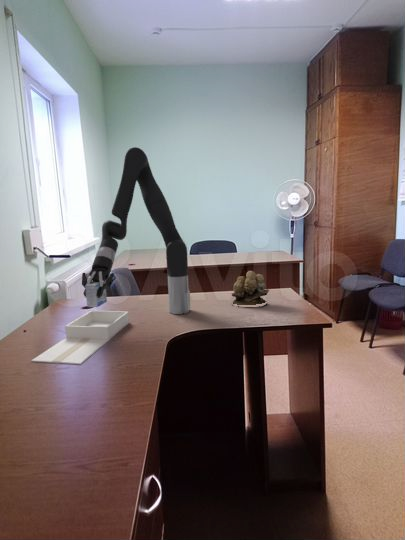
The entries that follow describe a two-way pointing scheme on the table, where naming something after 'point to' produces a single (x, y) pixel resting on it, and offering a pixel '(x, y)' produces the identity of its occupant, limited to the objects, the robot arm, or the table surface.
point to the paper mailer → (85, 337)
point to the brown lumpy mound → (249, 289)
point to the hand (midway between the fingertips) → (92, 296)
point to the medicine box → (94, 295)
